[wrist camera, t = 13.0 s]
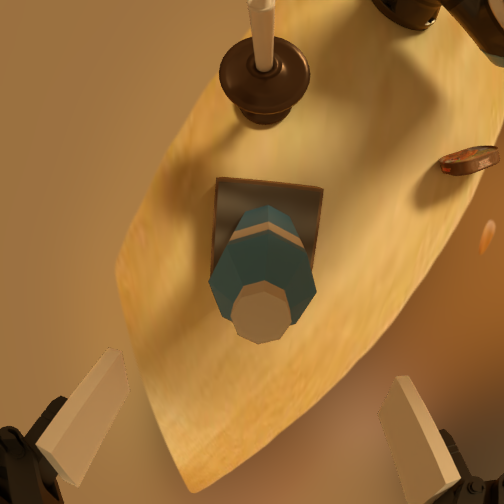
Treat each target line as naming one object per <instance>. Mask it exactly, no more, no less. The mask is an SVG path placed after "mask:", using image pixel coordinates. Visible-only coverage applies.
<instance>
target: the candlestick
mask: <svg viewBox="0 0 504 504" xmlns="http://www.w3.org/2000/svg"><path fill="white" fill-rule="evenodd" d="M247 3H248V10H249V17H250V24H251V32H252V37H250V38H247V39H244V40H242V41H240V42H238V43H237V44H235V45H234V46H233V47H232V48H230V50H229V51H228V52H227V53H226V54H225V56H224V57H223V59H222V62H221V64H220V70H219V79H220V83H221V86H222V89H223V90H224V92H225V94H226V96H227V97H228V98H229V99H230V100H231V101H232V102H233V103H234V104H235V105H237V106H238V107H239V108H240V109H241V111H242V113H243V114H244V115H245V117H247V118H248V119H249V120H251V121H252V122H254V123H258V124H262V125H270V124H274V123H277V122H279V121H281V120H283V119H284V118H285V117H286V116H287V115H288V114H289V112H290V110H291V108H292V106H294V105H295V104H296V103H297V102H298V101H299V100H300V99H301V98H302V97H303V95H304V93H305V92H306V90H307V87H308V84H309V81H310V69H309V65H308V62H307V60H306V58H305V56H304V55H303V53H302V52H301V51H300V50H299V49H298V48H297V47H296V46H295V45H293V44H292V43H290V42H288V41H286V40H284V39H282V38H278V37H275V36H274V19H275V0H248V1H247Z"/></svg>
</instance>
